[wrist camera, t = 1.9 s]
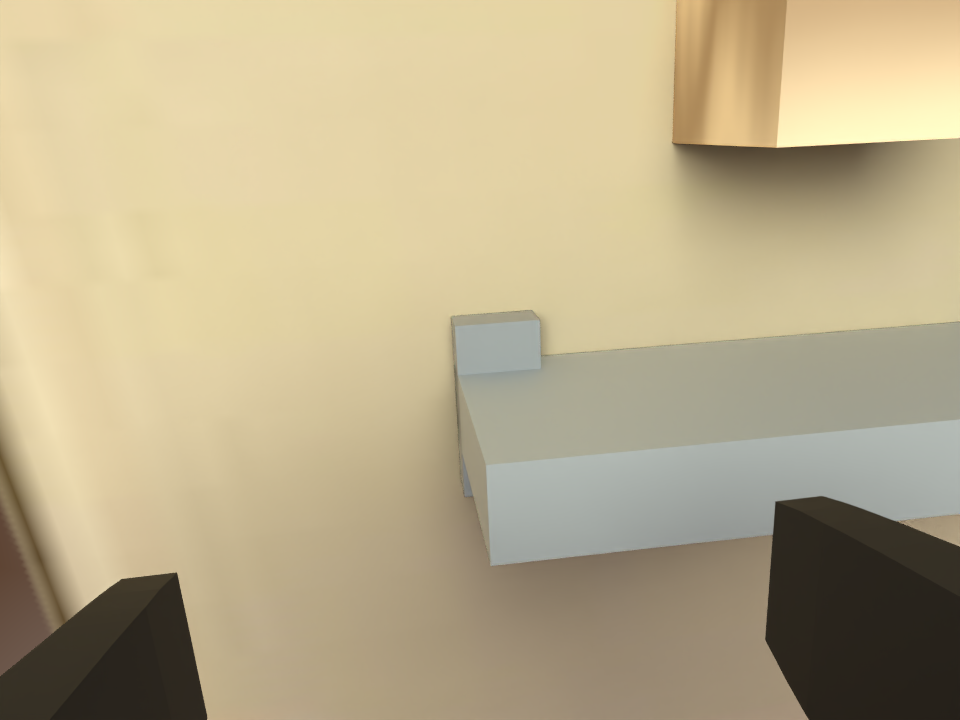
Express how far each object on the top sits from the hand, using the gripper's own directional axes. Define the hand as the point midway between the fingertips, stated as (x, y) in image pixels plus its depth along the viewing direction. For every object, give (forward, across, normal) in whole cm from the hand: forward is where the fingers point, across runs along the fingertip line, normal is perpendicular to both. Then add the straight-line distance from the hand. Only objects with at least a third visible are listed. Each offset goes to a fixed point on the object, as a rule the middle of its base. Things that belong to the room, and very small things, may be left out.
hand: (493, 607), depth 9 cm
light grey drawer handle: (+10, -8, +1) cm, 13 cm away
